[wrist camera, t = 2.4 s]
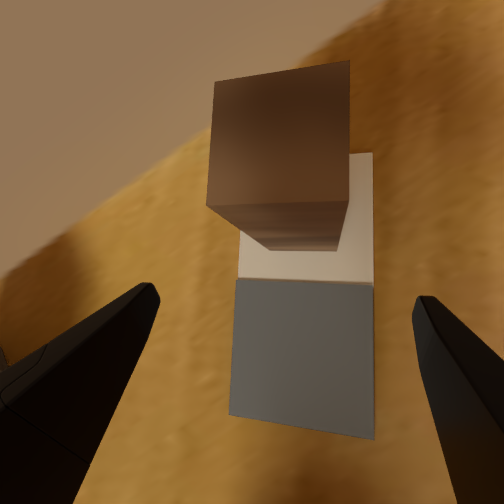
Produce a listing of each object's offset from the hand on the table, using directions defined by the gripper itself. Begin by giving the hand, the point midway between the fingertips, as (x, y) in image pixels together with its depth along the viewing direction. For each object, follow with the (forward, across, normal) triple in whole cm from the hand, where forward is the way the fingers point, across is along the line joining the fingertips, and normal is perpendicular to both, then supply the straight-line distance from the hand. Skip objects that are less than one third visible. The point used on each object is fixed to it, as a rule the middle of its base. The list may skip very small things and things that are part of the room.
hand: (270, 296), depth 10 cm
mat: (+6, 0, +12) cm, 13 cm away
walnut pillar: (+12, 0, +4) cm, 13 cm away
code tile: (+13, 0, +5) cm, 13 cm away
